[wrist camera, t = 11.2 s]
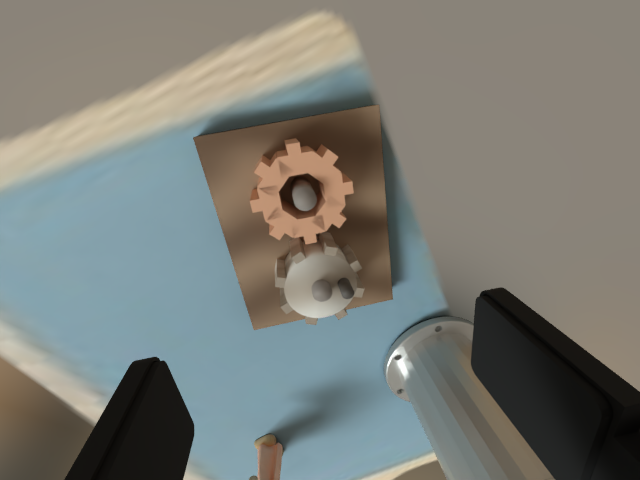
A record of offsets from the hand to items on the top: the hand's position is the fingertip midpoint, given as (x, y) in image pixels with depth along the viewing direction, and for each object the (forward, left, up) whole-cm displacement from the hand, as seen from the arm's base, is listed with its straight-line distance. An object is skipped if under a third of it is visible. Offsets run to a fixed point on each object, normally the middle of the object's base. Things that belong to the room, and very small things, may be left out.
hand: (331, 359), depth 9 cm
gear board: (-3, -1, -19) cm, 19 cm away
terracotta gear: (+1, -1, -17) cm, 17 cm away
